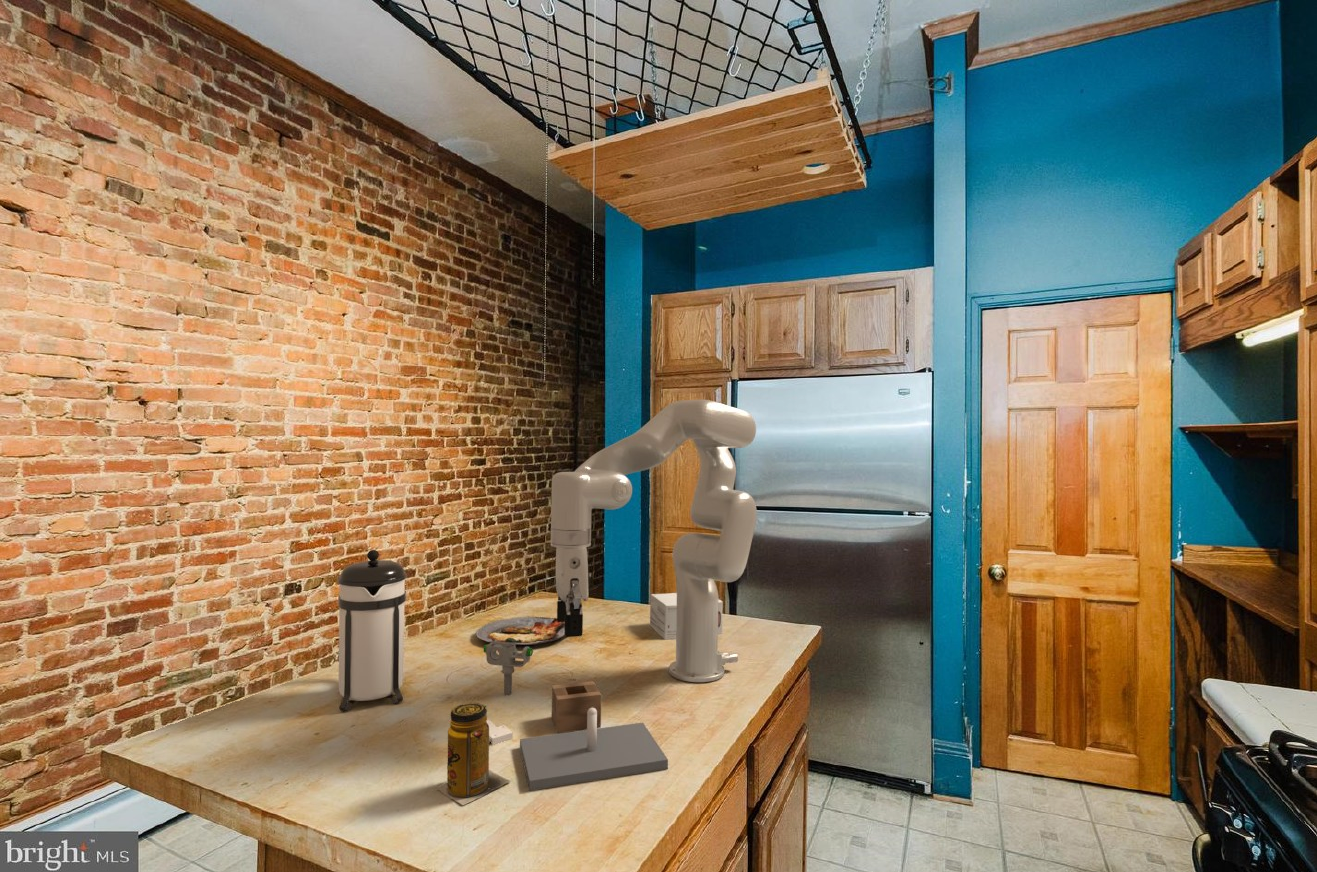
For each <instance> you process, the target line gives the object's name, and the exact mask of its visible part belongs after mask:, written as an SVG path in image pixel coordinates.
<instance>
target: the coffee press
mask: <svg viewBox="0 0 1317 872" xmlns="http://www.w3.org/2000/svg"><path fill="white" fill-rule="evenodd" d="M366 557H367V559H368V560H365V561H364V560H363V561H359V562H355V563H352V564H349V565H348V566H346V567H345V568H343V569H342V571H341V573H340V575H339V576H338V577H337V584H338V585H339V595H338V598H337V599H338V601H337V602H338V603H337V606H338V608H339V609H338V610H339V616H338V618H339V621H338V623H339V624H338V633H339V635H338V692H339V694H340V696H342V700H341V702H340V704H339V709H338V710H339V711H341V712H345V713H346V712H349V711H350V710H351V708H352V707H353V705H354V703H355V702H360V701H361V702H364V701H365V702H366V701H374V700H379V699H382V698H389V700H390V701H391V702H392V703H393V704H394V705H398V704H399V703H402V702H403V701H404V697H403V694H402V692H401V690H400V689H401V687H402V685H403V684H404V667H405V666H404V663H405V662H404V660H405V659H404V657H405V656H404V655H405V652H404V651H405V603H406V600H407V599H406V595H407V594H406V593H407V591H406V590H405V582H406V579H407V577H408V573H407V572H406V571H405V568H404V567H403V565H402V564H400V563H398V562H396V561H392V560H384V559H383V560H382V559H379V560H378V558H379V557H380V554H379V551H378V550H376V549H371V550H369V551H368V553H367V554H366Z"/></svg>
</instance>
